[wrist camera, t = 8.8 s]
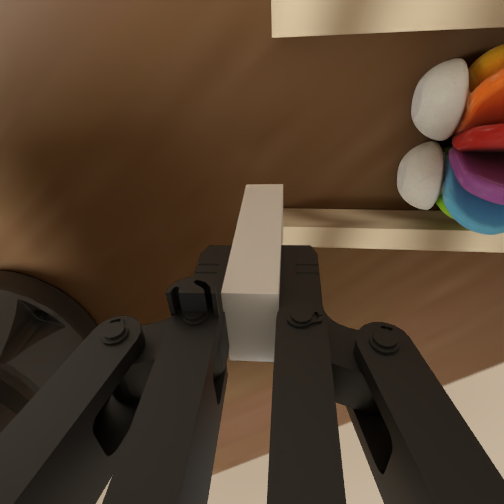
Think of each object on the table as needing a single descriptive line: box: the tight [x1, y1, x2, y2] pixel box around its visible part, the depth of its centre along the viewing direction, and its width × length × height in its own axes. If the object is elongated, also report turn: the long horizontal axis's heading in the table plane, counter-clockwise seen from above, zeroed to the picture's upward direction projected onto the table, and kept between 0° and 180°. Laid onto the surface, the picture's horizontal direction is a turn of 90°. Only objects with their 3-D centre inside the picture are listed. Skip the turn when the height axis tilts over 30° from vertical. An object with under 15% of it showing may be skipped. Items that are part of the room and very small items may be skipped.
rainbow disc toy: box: [397, 44, 504, 235], centre depth 19 cm, size 8×10×7 cm
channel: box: [271, 0, 504, 253], centre depth 20 cm, size 21×14×5 cm
